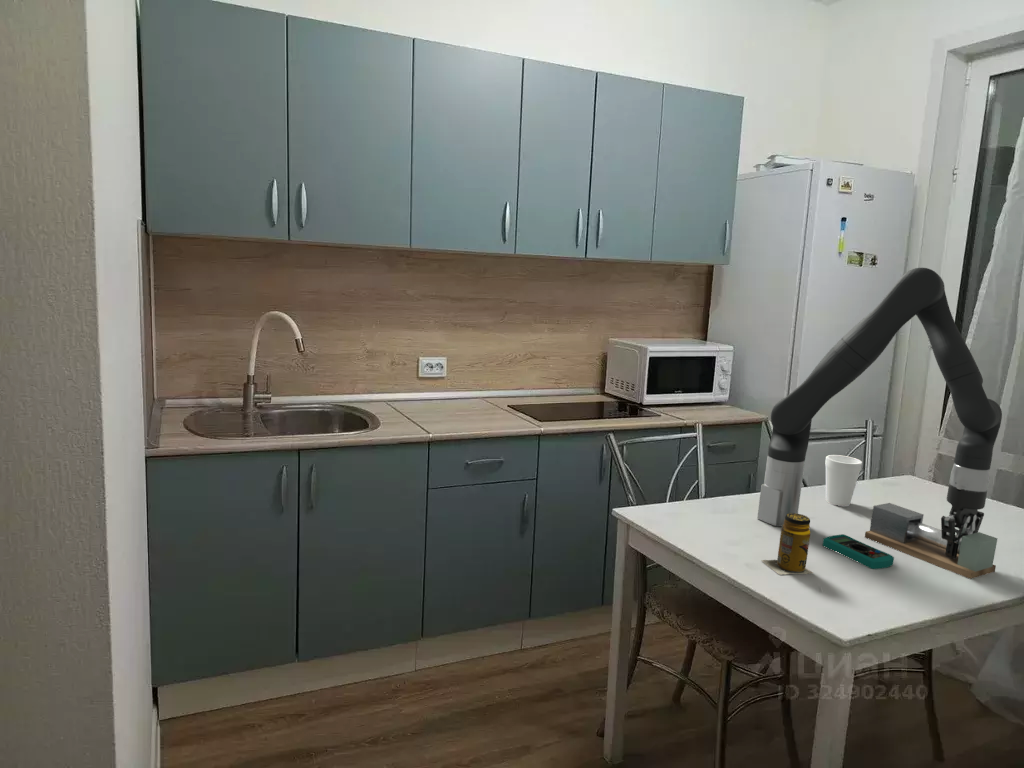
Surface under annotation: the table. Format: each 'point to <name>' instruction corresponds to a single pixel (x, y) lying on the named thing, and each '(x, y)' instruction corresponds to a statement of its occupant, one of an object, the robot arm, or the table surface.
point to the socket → (977, 551)
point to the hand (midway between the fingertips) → (956, 555)
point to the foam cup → (841, 478)
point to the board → (929, 555)
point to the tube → (928, 534)
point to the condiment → (792, 546)
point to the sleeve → (893, 522)
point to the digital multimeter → (859, 551)
